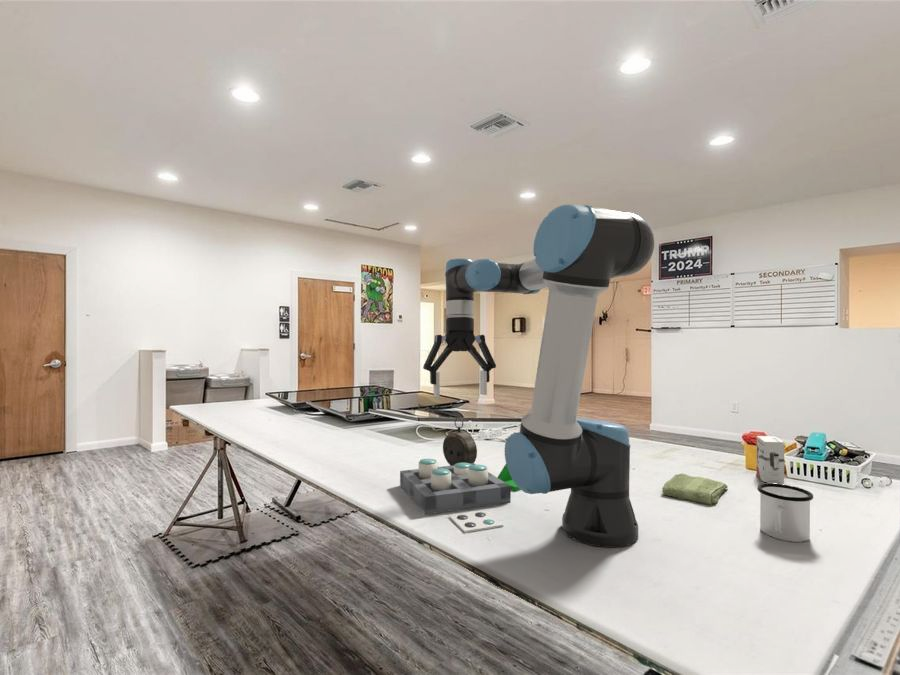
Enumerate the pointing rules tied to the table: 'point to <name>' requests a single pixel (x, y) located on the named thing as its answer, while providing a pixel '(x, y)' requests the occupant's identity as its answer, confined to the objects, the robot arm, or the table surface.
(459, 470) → the button
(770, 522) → the white oval bin
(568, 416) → the robot arm
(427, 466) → the button
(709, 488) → the washcloth
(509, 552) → the table surface
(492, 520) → the tile
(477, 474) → the button
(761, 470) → the ink box
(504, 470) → the bracket
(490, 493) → the button board
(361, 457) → the table surface
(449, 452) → the alarm clock
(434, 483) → the button
